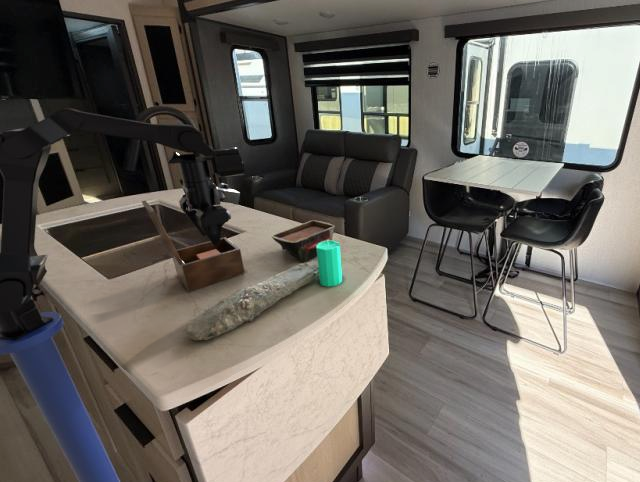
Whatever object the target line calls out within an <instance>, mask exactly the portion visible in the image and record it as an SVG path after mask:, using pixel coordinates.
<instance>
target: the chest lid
mask: <svg viewBox="0 0 640 482" xmlns="http://www.w3.org/2000/svg"><path fill="white" fill-rule="evenodd" d="M141 204H142V206H143V207H144V209H145V211H146V212H147V214H148V216H149V218H150V220H151V221H152V223H153V225H154V227H155V229H156V231H157V232H158V234H159V236H160V238H161V240H162V242H163V243H164V245H165V247H166V249H167V251H168V252H169V253H170V255H171V257H172V256H173V257H174V258H175V260H176V261H177V262H178V264H179V265H181V264H183V262H182V260H181V258H180V257H179V255H178V253H177V251H176V250H177V249H176V248H175V245H174V244H173V242H172V240H171V238H170V236H169V235H168V232H167V231H166V229H165V227H164V226H163V223H162V222H161V220H160V218H159V216H158V214H157V213H156V210H154V208H153V207H152V206H151V205H150V204H149V203H148V202H147V200H142V201H141Z"/></svg>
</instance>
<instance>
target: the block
mask: <svg viewBox="0 0 640 482" xmlns="http://www.w3.org/2000/svg"><path fill="white" fill-rule="evenodd" d="M217 254H221V253H220V252H219V251H217V250H216V249H214V250H211V251H207V252H204V253H200V254H197V255H196V257H197V260H200V259H204V258H207V257H211V256H214V255H217Z"/></svg>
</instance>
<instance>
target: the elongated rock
mask: <svg viewBox="0 0 640 482" xmlns="http://www.w3.org/2000/svg"><path fill="white" fill-rule="evenodd" d="M317 277H319V269H318V260H311V261H310V260H309V261H307V262H305V263H302V262H300V263H297V264H295V265H294V266H292V267H290V268H288V269H286V270H284V271H281V272H279V273H277V274H276V275H274V276H272V277H270V278H267V279H265V280H264V281H261V282H260V283H256V284H254V285H253V286H252V285H251V286H249V287H245V288H243V289H242V288H241V289H239V290H237V291H236V292H234V293H233V294H231V295H230V296H228V297H227V298H224V299H222V300H220V301H218V303H217V304H215V305H214V306H212V307H210V308H208V309H207V310H205V311H204V312H203V313H202V314H200V315H198V316H197V317H196V318H194V319H193V320H191V321H190V322H189V323H188V325H187V327H186V330H185V331H186V335H187V336H188V338H189V339H190V340H192V341H208V340H209V339H212V338H216V337H219V336H220V335H222V334H224V333H227V332H229V331H232V330H234V329H235V328H237V327H238V326H239V327H240V326H241V325H242V324H243V323H245V322H253V320H254V319H255V317H258V316H259V315H260V314H261V313H262V312H264V311H266V310H267V309H269V308H270V307H272V306H274V305H275V304H276V303H278V301H279V300H281V299H282V298H283V299H284V298H285V297H287V296H290V295H292V293H293V292H295V291H297V290H298V289H300V288H301V287H303V286H306V285H307V284H309V283H311V282H312V281H314V280H315V279H316V278H317Z"/></svg>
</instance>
